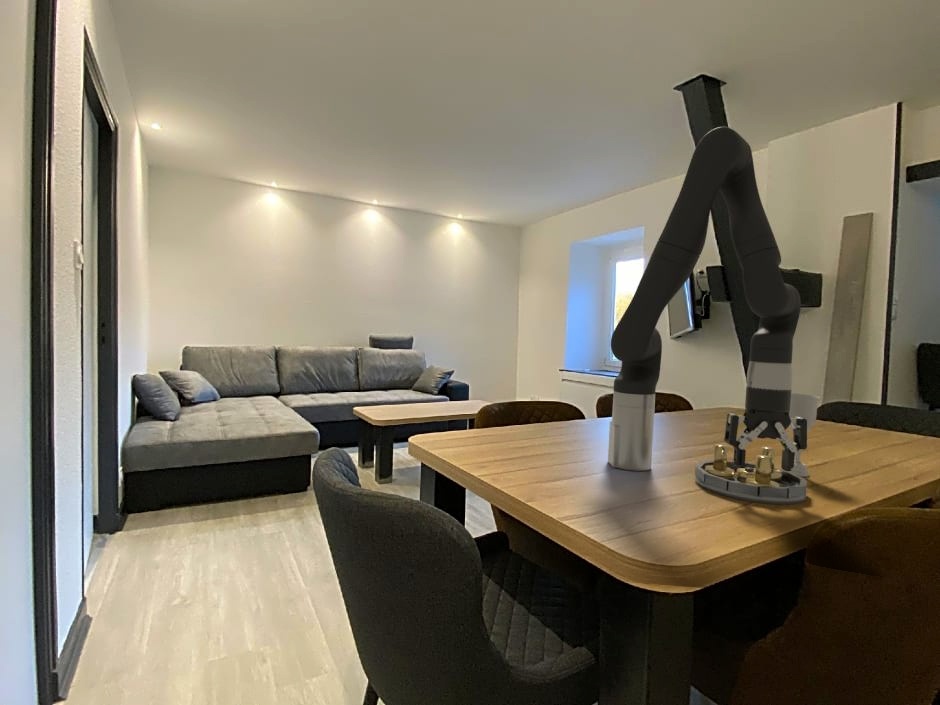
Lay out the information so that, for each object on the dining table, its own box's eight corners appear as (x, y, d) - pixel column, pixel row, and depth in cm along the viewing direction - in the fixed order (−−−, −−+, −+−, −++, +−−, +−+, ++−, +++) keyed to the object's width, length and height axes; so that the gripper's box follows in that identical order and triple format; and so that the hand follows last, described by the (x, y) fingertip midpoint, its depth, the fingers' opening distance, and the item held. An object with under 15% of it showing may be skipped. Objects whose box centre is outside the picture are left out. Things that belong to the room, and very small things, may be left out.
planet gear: (753, 493, 96) (756, 459, 96) (740, 484, 102) (742, 452, 101) (784, 495, 96) (787, 461, 95) (769, 486, 101) (771, 454, 101)
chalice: (771, 468, 120) (776, 393, 119) (798, 468, 121) (804, 393, 120) (794, 477, 113) (799, 397, 112) (822, 478, 113) (828, 398, 112)
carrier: (717, 500, 95) (720, 459, 95) (681, 471, 115) (683, 437, 114) (829, 507, 93) (832, 465, 93) (773, 476, 113) (776, 441, 113)
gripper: (738, 386, 94) (733, 472, 95) (819, 389, 93) (813, 476, 94) (722, 382, 102) (717, 461, 103) (796, 385, 101) (790, 465, 102)
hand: (763, 468), depth 98 cm, fingers open, 8 cm apart
